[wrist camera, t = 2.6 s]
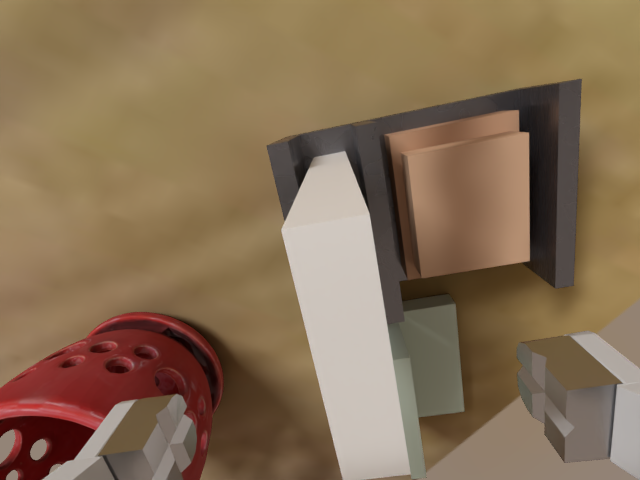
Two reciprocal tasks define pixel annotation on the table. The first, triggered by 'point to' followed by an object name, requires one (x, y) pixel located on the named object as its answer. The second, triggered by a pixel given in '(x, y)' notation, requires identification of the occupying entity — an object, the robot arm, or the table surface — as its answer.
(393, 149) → the offcut lower
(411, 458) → the sheet stand
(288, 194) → the offcut rack
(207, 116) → the table surface
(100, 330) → the plant pot
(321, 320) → the tall sheet
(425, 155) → the offcut upper
